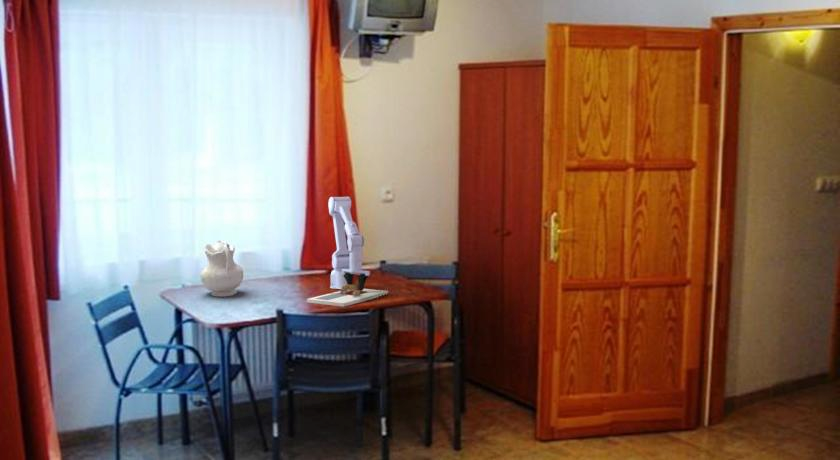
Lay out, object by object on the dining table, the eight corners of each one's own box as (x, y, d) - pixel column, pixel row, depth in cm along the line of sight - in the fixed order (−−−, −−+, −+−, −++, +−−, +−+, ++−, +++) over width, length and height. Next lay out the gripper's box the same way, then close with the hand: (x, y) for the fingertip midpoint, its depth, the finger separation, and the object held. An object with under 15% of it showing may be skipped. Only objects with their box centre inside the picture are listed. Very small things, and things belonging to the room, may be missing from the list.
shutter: (352, 297, 356) (352, 291, 356) (377, 291, 374) (377, 285, 373) (363, 298, 353) (363, 293, 353) (388, 292, 370) (388, 286, 370)
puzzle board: (306, 302, 353) (306, 298, 353) (354, 290, 384) (354, 287, 384) (343, 306, 343) (343, 303, 343) (389, 294, 374) (389, 291, 374)
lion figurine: (361, 294, 375) (361, 278, 374) (364, 295, 371) (364, 279, 370) (337, 295, 370) (337, 280, 369) (340, 297, 366) (340, 281, 365)
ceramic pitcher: (255, 295, 370) (254, 242, 368) (218, 301, 356) (217, 245, 354) (228, 290, 385) (227, 238, 383) (192, 295, 371) (191, 241, 369)
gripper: (337, 260, 370) (338, 289, 372) (363, 262, 363) (363, 292, 364) (346, 258, 376) (347, 287, 378) (372, 261, 369) (372, 290, 370)
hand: (355, 289), depth 371 cm, fingers closed on lion figurine, 6 cm apart
